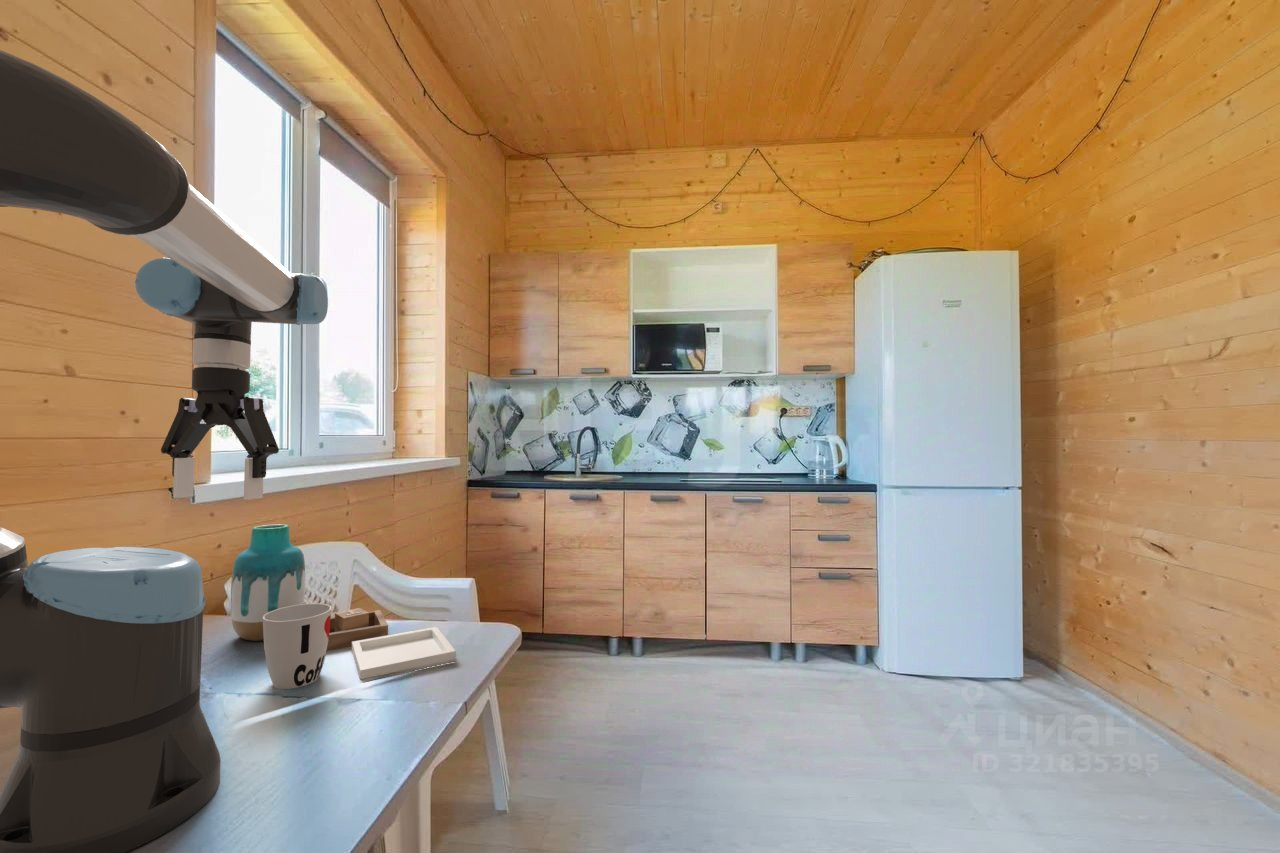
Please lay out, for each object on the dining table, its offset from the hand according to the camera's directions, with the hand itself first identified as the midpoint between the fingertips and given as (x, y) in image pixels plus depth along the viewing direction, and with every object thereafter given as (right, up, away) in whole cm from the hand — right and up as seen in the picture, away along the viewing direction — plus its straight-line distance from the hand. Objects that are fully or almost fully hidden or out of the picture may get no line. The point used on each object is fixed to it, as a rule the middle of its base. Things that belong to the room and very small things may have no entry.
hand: (217, 498), depth 87 cm
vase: (+5, -25, +5) cm, 26 cm away
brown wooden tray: (+20, -25, +4) cm, 32 cm away
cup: (+21, -24, -13) cm, 35 cm away
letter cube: (+20, -24, +4) cm, 31 cm away
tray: (+32, -25, -3) cm, 40 cm away
